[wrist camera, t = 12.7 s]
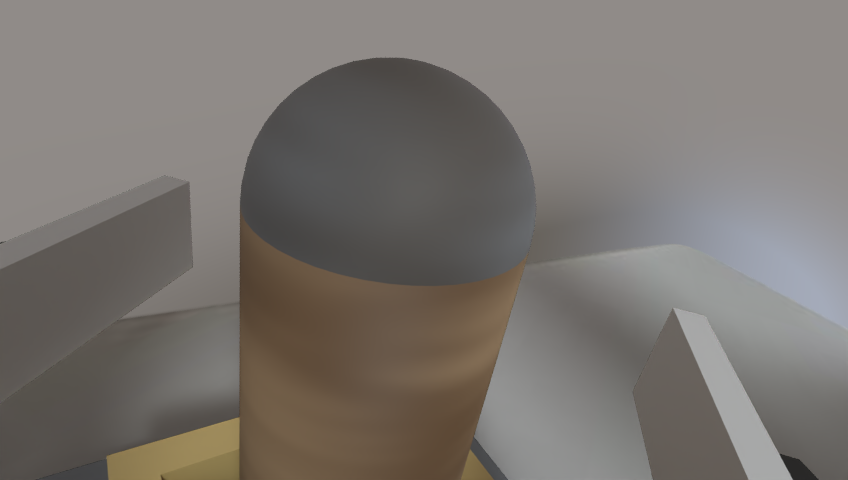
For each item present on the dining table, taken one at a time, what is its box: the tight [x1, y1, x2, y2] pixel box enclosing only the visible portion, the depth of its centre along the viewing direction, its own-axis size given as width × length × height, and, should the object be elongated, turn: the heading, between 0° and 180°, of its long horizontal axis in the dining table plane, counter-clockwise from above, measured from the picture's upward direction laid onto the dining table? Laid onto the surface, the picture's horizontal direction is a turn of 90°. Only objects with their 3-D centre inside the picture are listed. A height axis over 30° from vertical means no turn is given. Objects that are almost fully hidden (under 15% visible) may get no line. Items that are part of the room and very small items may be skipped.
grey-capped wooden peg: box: [239, 58, 536, 480], centre depth 11 cm, size 5×5×16 cm
